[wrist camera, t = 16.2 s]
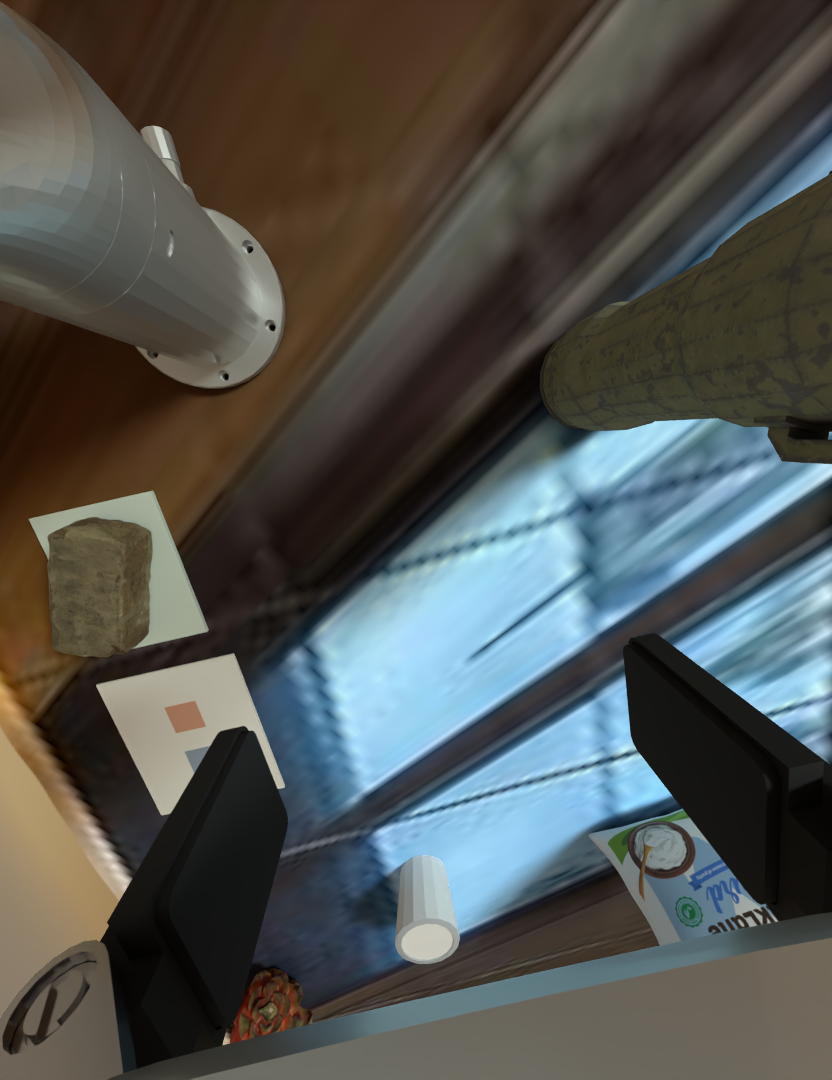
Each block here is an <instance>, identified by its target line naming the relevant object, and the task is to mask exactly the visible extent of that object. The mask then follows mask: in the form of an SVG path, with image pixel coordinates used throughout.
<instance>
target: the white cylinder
mask: <svg viewBox="0 0 832 1080" xmlns="http://www.w3.org/2000/svg"><path fill="white" fill-rule="evenodd" d="M459 940H460V936H459V931H458V926H457V922H456V917H455V912H454V907H453V902H452V897H451V893H450V888H449V883H448V878H447V873H446V869H445V866H444V863H443V862H441V861H440V860H439V859H438V858H436V857H433V856H431V855H420V856H416V857H412V858H411V859H409V860H408V861H406V862H405V863H404V865H403V866H402V867H401V871H400V881H399V895H398V910H397V924H396V939H395V946H396V949H397V951H398V954H400V955H401V956H402V957H403V958H404V959H406V960H408V961H411V962H414V963H417V964H431V963H435V962H439V961H442V960H444V959H445V958H447V957H449V956H450V955H452V953H453V952H454V951H455V950H456V949H457V947H458V944H459Z"/></svg>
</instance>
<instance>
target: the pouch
mask: <svg viewBox="0 0 832 1080" xmlns="http://www.w3.org/2000/svg"><path fill="white" fill-rule="evenodd" d="M588 836H589V838H590V839H591V840H592V841H593V842H594V843H595V844H596V845H597V846H598V848H599V849H600V850H601V851H602V852H603V853H604V854H605V855H606V857H607V858H608V859H609V860H610V861H611V863H612V864H613V865H614V867H615V868H616V869H617V871H618V872H619V874H620V876H621V877H622V879H623V881H624V883H625V884H626V886H627V888H628V890H629V891H630V893H631V895H632V896H633V898H634V900H635V901H636V903H637V904H638V906H639V907H640V909H641V910H642V912H643V914H644V915H645V917H646V919H647V920H648V922H649V924H650V926H651V927H652V929H653V931H654V933H655V935H656V937H657V940H658V942H659V944H660V946H661V945H666V944H671V943H675V942H680V941H684V940H689V939H694V938H698V937H703V936H707V935H712V934H717V933H722V932H727V931H732V930H737V929H742V928H747V927H753V926H758V925H763V924H768V923H773V922H778V921H779V920H778V919H777V918H776V916H775V915H774V914H773V912H772V911H771V910H770V909H769V907H768V906H767V905H766V904H763V905H760V904H758V903H757V902H756V901H754V900H753V899H752V897H751V896H750V895H749V894H748V893H747V891H746V890H745V889H744V888H743V886H742V885H741V884H740V882H739V881H738V880H737V878H736V877H735V876H734V875H733V873H732V872H731V871H730V869H729V868H728V867H727V866H726V864H725V863H724V862H723V860H722V859H721V858H720V856H719V855H718V854H717V853H716V851H715V850H714V849H713V847H712V846H711V845H710V844H709V842H708V841H707V840H706V838H705V837H704V836H703V834H702V833H701V832H700V831H699V829H698V828H697V827H696V825H695V824H694V823H693V822H692V820H691V819H690V818H689V816H688V815H687V814H686V812H685V811H684V810H683V809H680V810H678V811H675V812H673V813H670V814H668V815H664V816H660V817H655V818H650V819H647V820H643V821H640V822H636V823H633V824H630V825H627V826H623V827H619V828H614V829H609V830H604V831H600V832H595V833H590V834H588Z"/></svg>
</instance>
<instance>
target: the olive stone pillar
mask: <svg viewBox="0 0 832 1080" xmlns="http://www.w3.org/2000/svg"><path fill="white" fill-rule="evenodd" d="M540 392H541V396H542V400H543V403H544V405H545V407H546V408H547V410H548V411H549V413H550V414H551V416H552V417H553V418H555V419H556V420H557V421H559V422H560V423H561V424H563V425H565V426H568V427H571V428H575V429H586V430H590V431H610V430H627V429H631V428H635V427H639V426H642V425H646V424H650V423H653V422H654V421H668V420H689V419H709V418H719V419H722V420H725V421H728V422H731V423H734V424H737V425H740V426H743V427H768V428H769V430H768V437H769V439H770V441H771V443H772V444H773V446H774V448H775V450H776V452H777V453H778V455H779V457H780V459H781V460H782V461H787V462H800V463H822V464H832V440H828V436H829V432H832V171H831V172H829V175H828V176H826V177H825V178H823V179H821V180H820V181H818V182H816V183H814V184H813V185H811V186H809V187H808V188H806V189H804V190H803V191H801V192H799V193H798V194H796V195H794V196H793V197H791V198H789V199H787V200H786V201H784V202H782V203H781V204H779V205H777V206H776V207H774V208H772V209H771V210H769V211H767V212H766V213H764V214H762V215H761V216H759V217H757V218H755V219H754V220H752V221H750V222H749V223H747V224H746V225H745V226H744V227H742V228H741V229H740V230H739V231H737V232H736V233H735V234H734V235H732V236H731V237H730V238H729V239H727V240H726V241H725V242H724V243H722V244H721V245H720V246H719V247H718V248H717V250H716V251H715V253H714V254H713V255H712V257H710V258H708V259H706V260H704V261H703V262H701V263H699V264H697V265H695V266H694V267H692V268H690V269H688V270H686V271H685V272H683V273H681V274H679V275H677V276H676V277H674V278H672V279H670V280H668V281H667V282H665V283H663V284H661V285H659V286H658V287H656V288H654V289H652V290H650V291H649V292H647V293H645V294H643V295H641V296H640V297H638V298H636V299H634V300H632V301H631V302H617V303H613V304H609V305H607V306H605V307H603V308H602V309H600V310H598V311H597V312H595V313H593V314H592V315H590V316H588V317H587V318H585V319H583V320H582V321H580V322H579V323H578V324H577V325H575V326H574V327H573V328H572V329H570V330H569V331H567V332H566V333H565V334H564V335H562V336H561V337H560V338H559V339H557V340H556V341H555V342H554V344H553V345H552V347H551V348H550V350H549V351H548V353H547V354H546V356H545V359H544V362H543V365H542V368H541V371H540Z"/></svg>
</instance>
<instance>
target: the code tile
mask: <svg viewBox="0 0 832 1080" xmlns="http://www.w3.org/2000/svg"><path fill="white" fill-rule="evenodd" d="M96 687H97V689H98V691H99V693H100V695H101V697H102V699H103V701H104V703H105V705H106V707H107V709H108V711H109V713H110V714H111V716H112V718H113V720H114V722H115V724H116V726H117V728H118V730H119V732H120V734H121V736H122V738H123V740H124V742H125V744H126V746H127V748H128V750H129V752H130V754H131V756H132V758H133V760H134V762H135V764H136V766H137V768H138V770H139V772H140V774H141V776H142V778H143V780H144V782H145V784H146V786H147V788H148V790H149V792H150V794H151V796H152V798H153V800H154V802H155V804H156V806H157V808H158V810H159V812H160V814H161V815H165V814H170V813H171V812H172V810H173V809H174V807H175V805H176V804H177V802H178V800H179V798H180V797H181V795H182V793H183V792H184V790H185V788H186V787H187V785H188V783H189V781H190V780H191V778H192V776H193V775H194V773H195V771H196V769H197V768H198V766H199V764H200V763H201V761H202V759H203V757H204V756H205V754H206V752H207V751H208V749H209V747H210V745H211V744H212V742H213V740H214V739H215V737H216V735H217V734H218V733H219V732H220V731H223V730H227V729H232V728H236V727H240V726H245V727H246V728H248V730H249V731H251V730H252V731H254V732H255V733H256V735H257V738H258V740H259V743H260V746H261V748H262V751H263V753H264V756H265V758H266V761H267V763H268V766H269V768H270V771H271V774H272V776H273V779H274V781H275V784H276V786H277V789H280V788H285V784H284V781H283V779H282V776H281V774H280V771H279V769H278V766H277V763H276V761H275V758H274V756H273V753H272V750H271V748H270V745H269V743H268V740H267V737H266V735H265V732H264V730H263V727H262V724H261V722H260V719H259V717H258V714H257V711H256V709H255V706H254V704H253V701H252V699H251V696H250V693H249V691H248V688H247V686H246V683H245V680H244V678H243V675H242V673H241V670H240V667H239V665H238V662H237V660H236V657H235V654H234V653H232V654H228V655H224V656H219V657H215V658H210V659H206V660H201V661H197V662H193V663H188V664H184V665H179V666H175V667H171V668H166V669H162V670H157V671H153V672H149V673H144V674H140V675H135V676H131V677H127V678H122V679H118V680H113V681H109V682H105V683H100V684H97V685H96Z"/></svg>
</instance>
